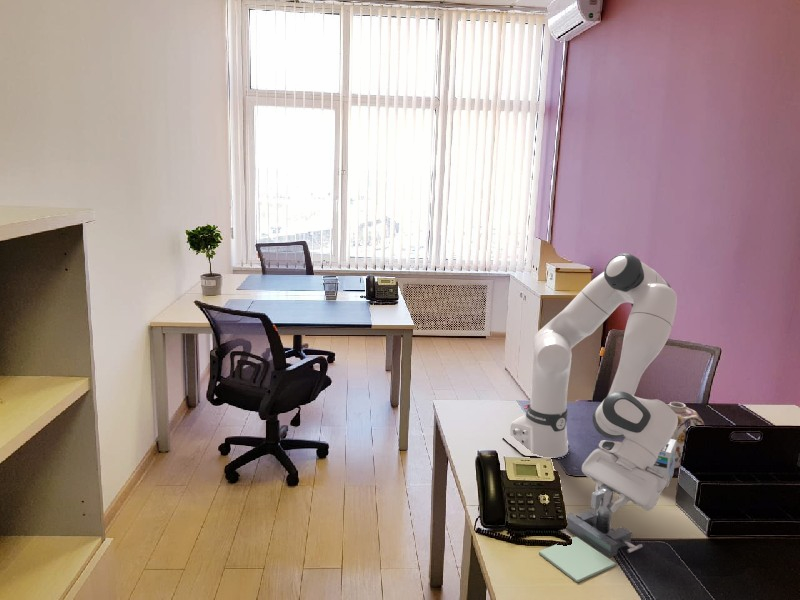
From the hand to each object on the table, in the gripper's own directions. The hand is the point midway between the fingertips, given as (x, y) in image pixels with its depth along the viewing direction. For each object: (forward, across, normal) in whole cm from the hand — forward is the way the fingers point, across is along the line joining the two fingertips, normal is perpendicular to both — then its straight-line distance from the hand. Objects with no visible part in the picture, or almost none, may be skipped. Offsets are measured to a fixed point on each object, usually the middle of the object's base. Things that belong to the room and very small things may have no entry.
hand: (602, 506), depth 150 cm
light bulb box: (-21, +12, -32) cm, 40 cm away
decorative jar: (-31, +18, -42) cm, 55 cm away
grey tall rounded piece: (+5, 0, -6) cm, 8 cm away
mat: (+14, -4, +3) cm, 15 cm away
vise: (+6, -1, -5) cm, 8 cm away
